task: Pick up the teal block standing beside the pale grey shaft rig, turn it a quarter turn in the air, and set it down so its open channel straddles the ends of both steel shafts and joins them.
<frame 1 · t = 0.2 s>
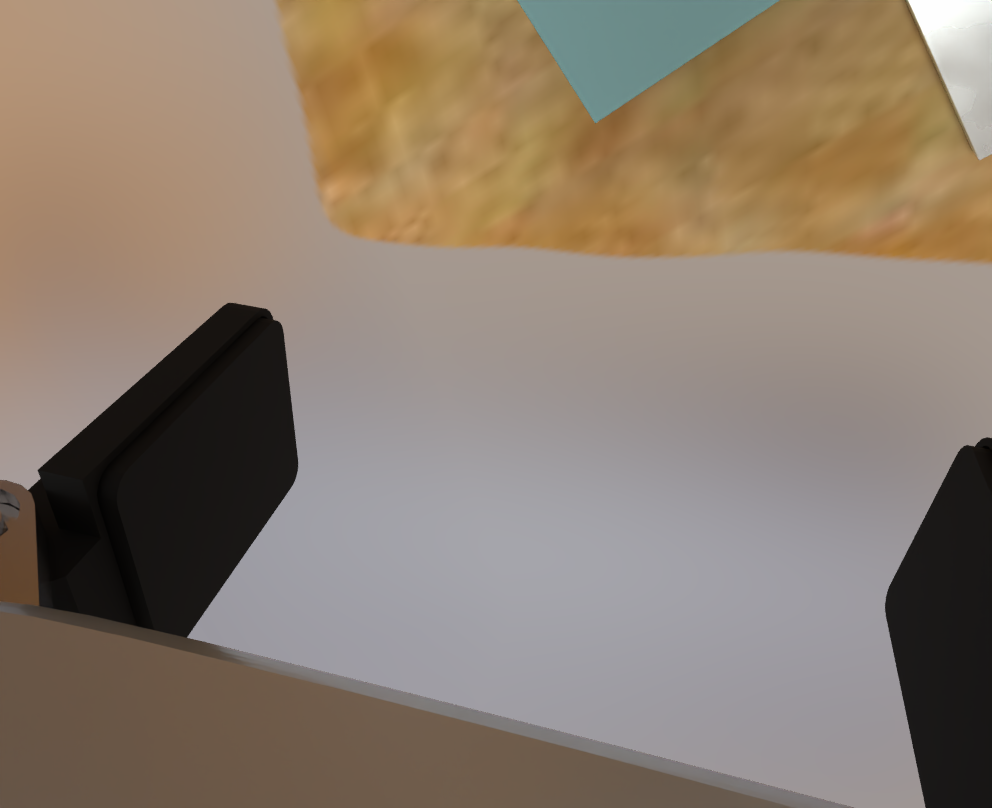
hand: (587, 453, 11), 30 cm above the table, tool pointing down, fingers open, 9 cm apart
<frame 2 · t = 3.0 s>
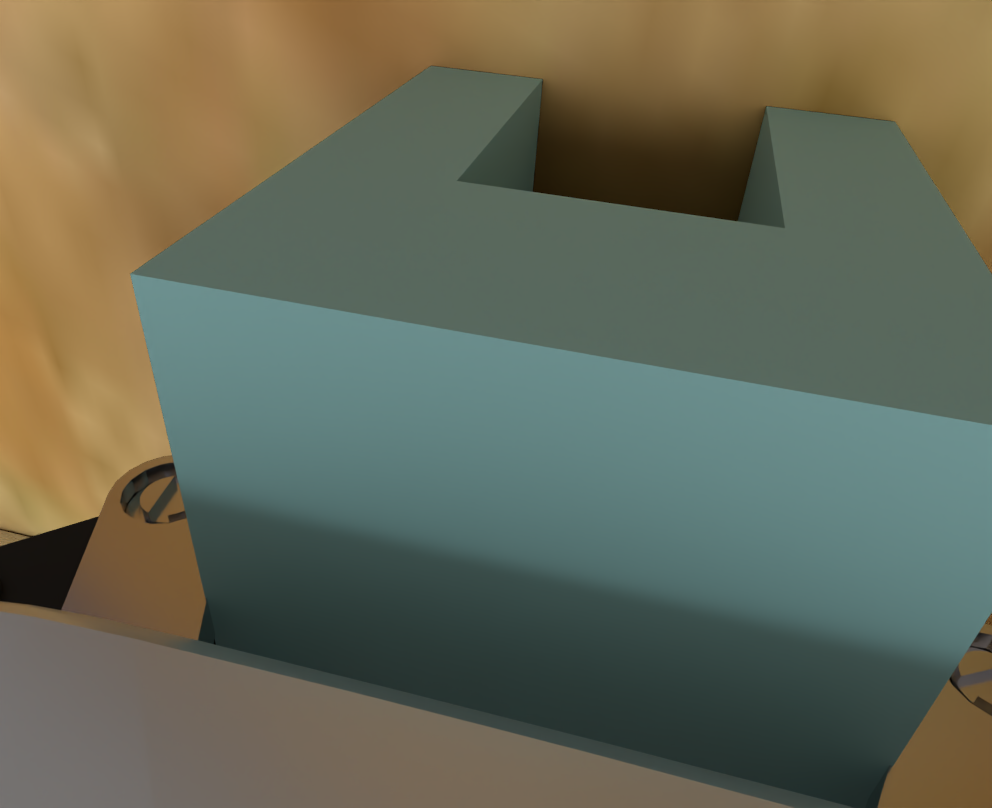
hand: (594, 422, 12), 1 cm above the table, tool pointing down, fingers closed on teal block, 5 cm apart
teal block: (602, 388, 12), on the table, touching gripper
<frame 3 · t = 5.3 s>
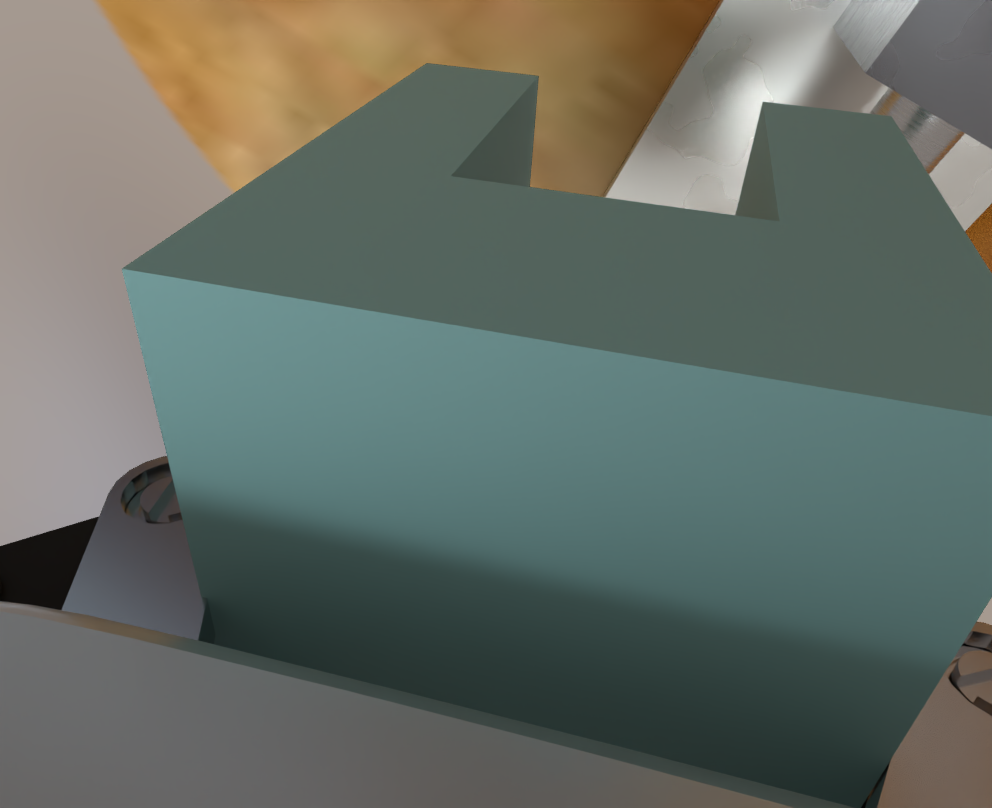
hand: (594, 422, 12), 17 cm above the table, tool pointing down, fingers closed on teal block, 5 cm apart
teal block: (601, 385, 12), point 16 cm above the table, touching gripper
shaft rig: (749, 235, 27), on the table
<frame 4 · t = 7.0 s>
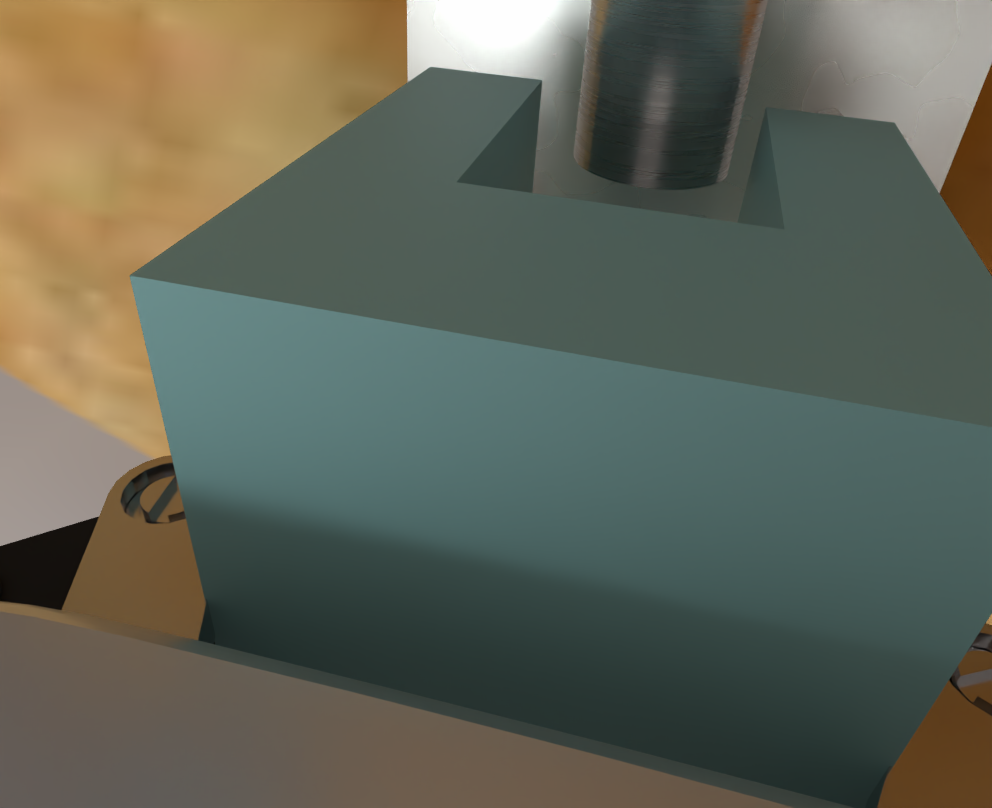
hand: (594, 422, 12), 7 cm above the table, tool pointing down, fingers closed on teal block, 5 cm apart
teal block: (602, 388, 12), point 6 cm above the table, touching gripper
shaft rig: (646, 234, 17), on the table
when the fingers open (5 cm above the table, at t = 7.8 s): teal block stays where it is, resting on shaft rig.
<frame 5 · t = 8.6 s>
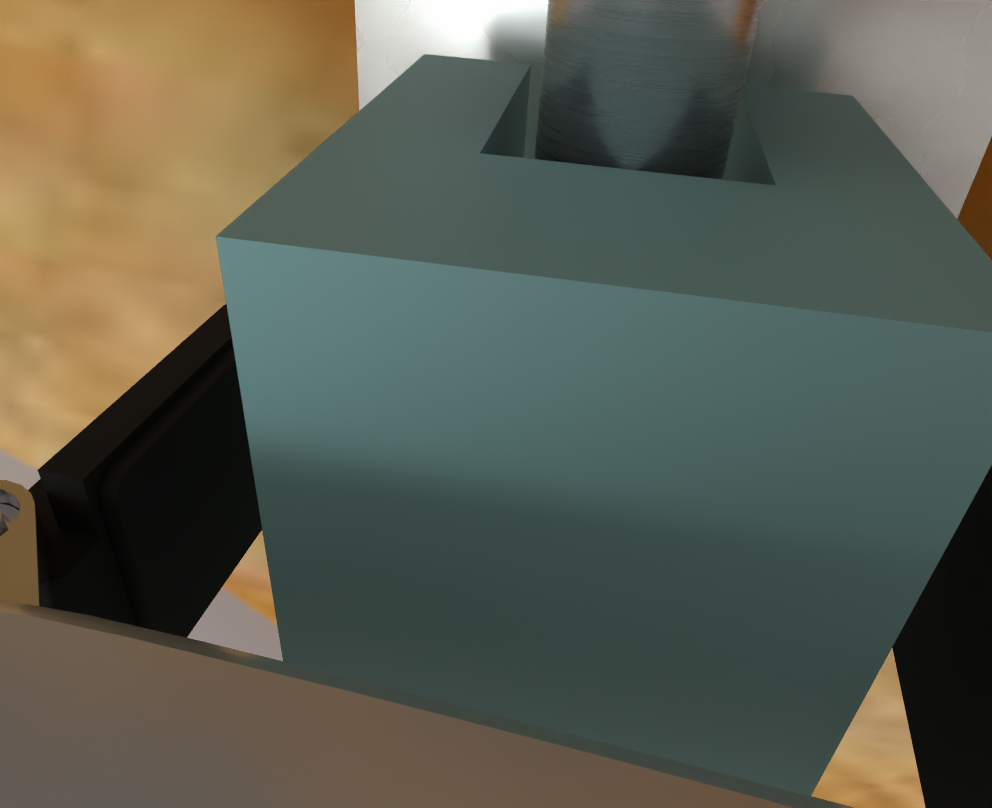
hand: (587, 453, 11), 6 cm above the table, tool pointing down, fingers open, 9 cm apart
teal block: (591, 355, 13), point 3 cm above the table, touching shaft rig
shaft rig: (624, 284, 16), on the table
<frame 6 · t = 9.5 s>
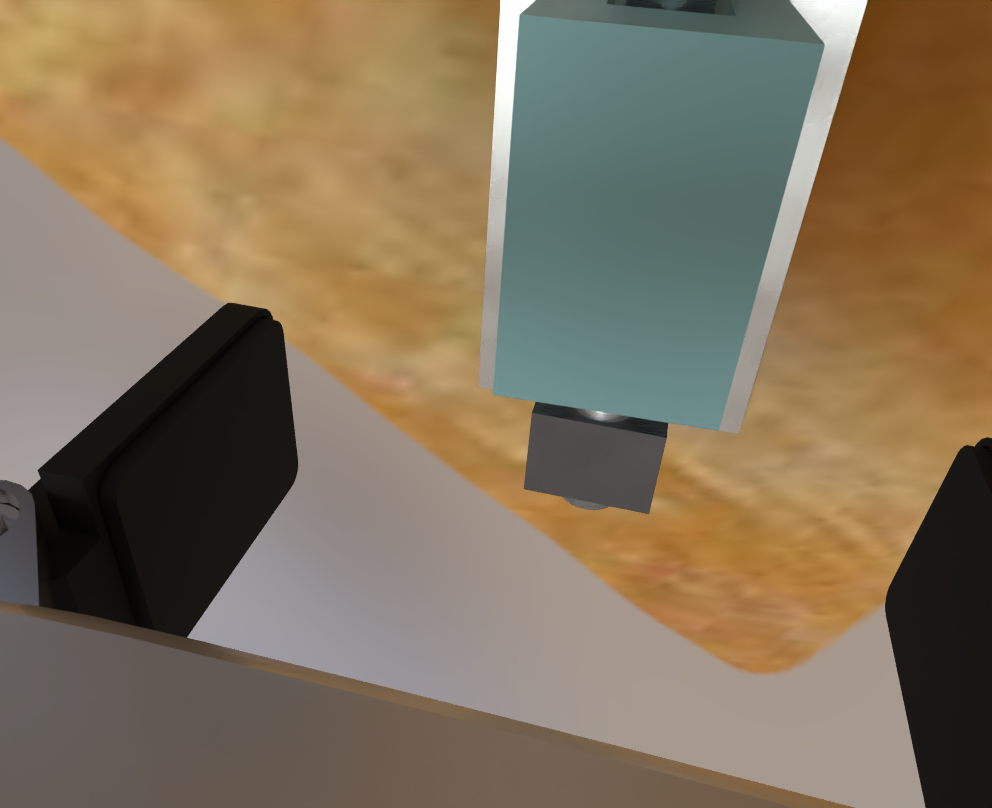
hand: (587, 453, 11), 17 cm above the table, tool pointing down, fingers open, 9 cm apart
teal block: (643, 161, 23), point 3 cm above the table, touching shaft rig
shaft rig: (653, 135, 25), on the table
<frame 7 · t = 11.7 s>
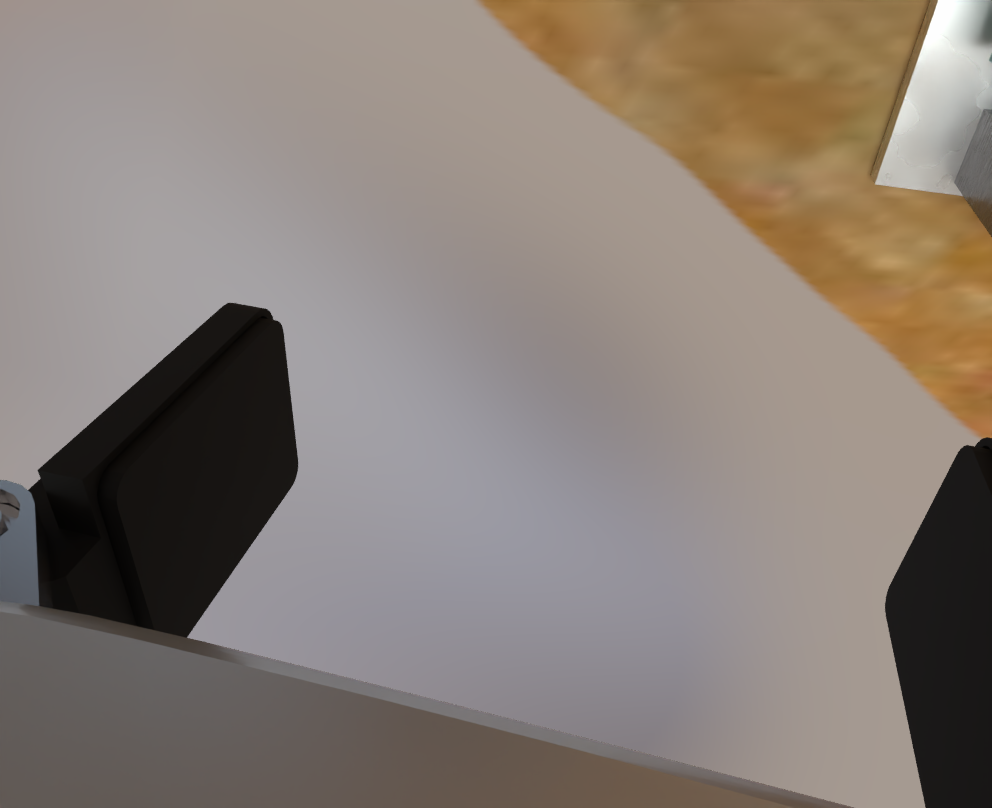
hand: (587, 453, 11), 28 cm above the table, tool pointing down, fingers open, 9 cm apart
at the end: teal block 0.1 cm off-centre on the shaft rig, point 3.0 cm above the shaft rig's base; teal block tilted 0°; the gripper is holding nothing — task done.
